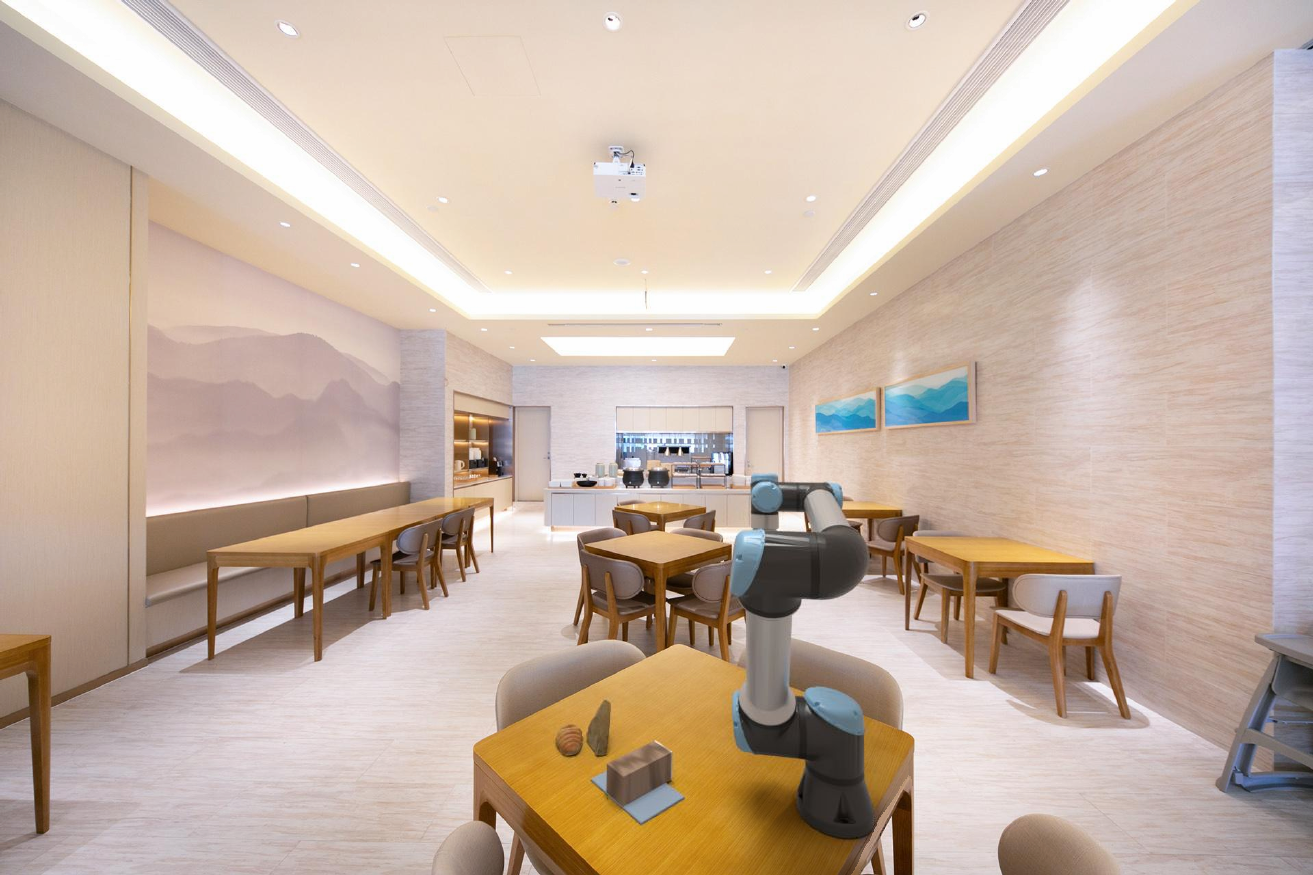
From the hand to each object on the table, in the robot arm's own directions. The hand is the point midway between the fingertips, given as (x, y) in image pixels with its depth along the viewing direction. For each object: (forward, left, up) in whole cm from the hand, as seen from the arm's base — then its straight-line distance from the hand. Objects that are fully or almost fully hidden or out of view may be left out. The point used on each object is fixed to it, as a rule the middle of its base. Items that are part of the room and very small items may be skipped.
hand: (764, 616), depth 134 cm
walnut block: (+4, +33, -27) cm, 43 cm away
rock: (+24, +38, -31) cm, 54 cm away
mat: (+4, +41, -30) cm, 51 cm away
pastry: (+28, +43, -31) cm, 60 cm away
